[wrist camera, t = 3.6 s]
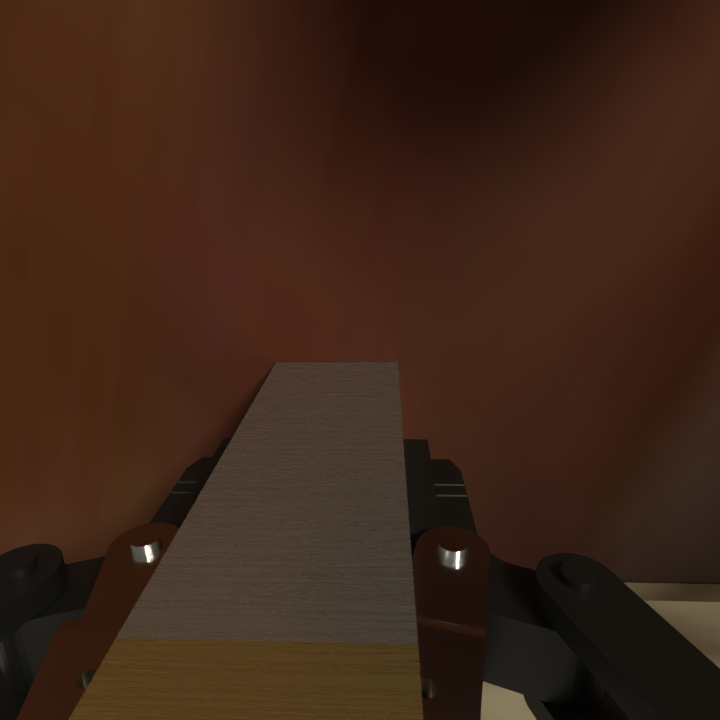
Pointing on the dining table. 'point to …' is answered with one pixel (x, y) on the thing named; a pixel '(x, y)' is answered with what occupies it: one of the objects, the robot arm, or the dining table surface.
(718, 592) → the block
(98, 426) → the dining table surface
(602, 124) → the dining table surface
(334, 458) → the pin
